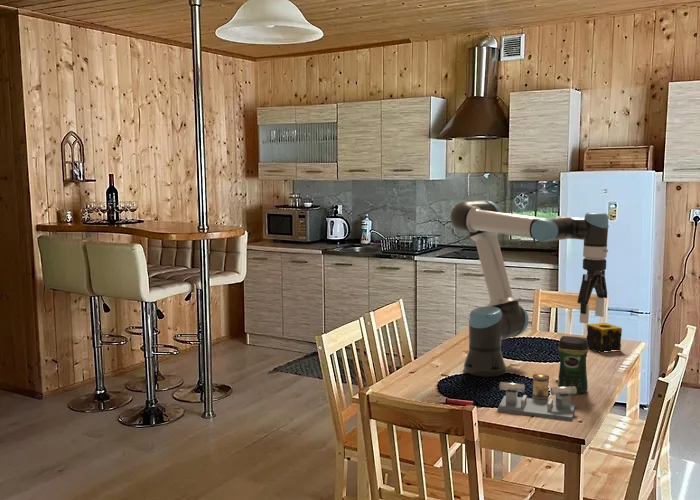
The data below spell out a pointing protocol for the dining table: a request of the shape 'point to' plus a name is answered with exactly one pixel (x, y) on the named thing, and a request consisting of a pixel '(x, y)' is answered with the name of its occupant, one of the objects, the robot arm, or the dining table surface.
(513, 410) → the grey mounting plate
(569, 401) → the shaft right
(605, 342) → the candle
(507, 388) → the shaft left
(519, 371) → the dining table surface
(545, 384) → the cylinder
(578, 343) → the coffee jar
